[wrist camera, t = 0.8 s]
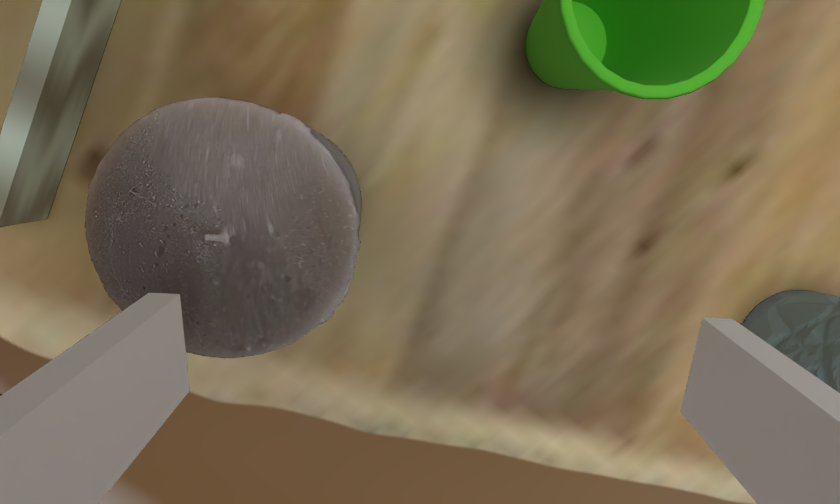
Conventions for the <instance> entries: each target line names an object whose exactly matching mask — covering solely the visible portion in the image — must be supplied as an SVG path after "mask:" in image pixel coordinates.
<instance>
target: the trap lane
mask: <svg viewBox="0 0 840 504" xmlns="http://www.w3.org/2000/svg"><path fill="white" fill-rule="evenodd" d="M120 2H121V0H43V1H42V5H41V8H40V11H39V14H38V17H37V20H36V23H35V27H34V30H33V33H32V36H31V39H30V42H29V45H28V49H27V52H26V55H25V58H24V61H23V64H22V67H21V71H20V74H19V77H18V80H17V83H16V86H15V89H14V93H13V96H12V99H11V102H10V105H9V108H8V112H7V115H6V118H5V121H4V124H3V127H2V130H1V134H0V227H4V226H10V225H15V224H21V223H27V222H33V221H38V220H44V219H47V218H48V215H49V212H50V209H51V206H52V203H53V200H54V197H55V194H56V191H57V188H58V185H59V182H60V179H61V176H62V173H63V170H64V167H65V164H66V161H67V159H68V156H69V153H70V150H71V147H72V144H73V141H74V138H75V135H76V132H77V129H78V126H79V123H80V120H81V117H82V114H83V111H84V108H85V105H86V102H87V99H88V97H89V94H90V91H91V88H92V85H93V82H94V79H95V76H96V73H97V70H98V67H99V64H100V61H101V58H102V55H103V52H104V49H105V46H106V43H107V40H108V38H109V35H110V32H111V29H112V26H113V23H114V20H115V17H116V14H117V11H118V8H119V5H120Z"/></svg>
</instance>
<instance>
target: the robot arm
mask: <svg viewBox="0 0 840 504" xmlns="http://www.w3.org/2000/svg"><path fill="white" fill-rule="evenodd" d="M189 391H190V388H189V378H188V368H187V359H186V349H185V339H184V330H183V320H182V310H181V301H180V294H167V293H148V294H146V295H145V296H143V297H142V298H141V299H139V300H138V301H136V302H135V303H133V304H132V305H131V306H129V307H128V308H126V309H125V310H123V311H122V312H120V313H119V314H118V315H116V316H115V317H113V318H112V319H110V320H109V321H108V322H106V323H105V324H103V325H102V326H100V327H99V328H97V329H96V330H95V331H93V332H92V333H90V334H89V335H87V336H86V337H84V338H83V339H82V340H80V341H79V342H77V343H76V344H74V345H73V346H72V347H70V348H69V349H67V350H66V351H64V352H63V353H61V354H60V355H59V356H57V357H56V358H54V359H53V360H51V361H50V362H49V363H47V364H46V365H44V366H43V367H41V368H40V369H39V370H37V371H36V372H34V373H33V374H31V375H30V376H28V377H27V378H26V379H24V380H23V381H21V382H20V383H19V384H17V385H15V386H14V387H13V388H11V389H10V390H8V391H7V392H5V393H4V394H0V504H99V503H100V501H101V500H102V499H103V498H104V496H105V495H106V494H107V493H108V491H109V490H110V489H111V488H112V486H113V485H114V484H115V483H116V482H117V480H118V479H119V478H120V477H121V475H122V474H123V473H124V472H125V470H126V469H127V468H128V467H129V465H130V464H131V463H132V462H133V460H134V459H135V458H136V457H137V455H138V454H139V453H140V452H141V451H142V449H143V448H144V447H145V446H146V444H147V443H148V442H149V440H150V439H151V438H152V437H153V436H154V434H155V433H156V432H157V430H158V429H159V428H160V427H161V426H162V424H163V423H164V422H165V421H166V420H167V418H168V417H169V416H170V415H171V413H172V412H173V411H174V410H175V408H176V407H177V406H178V405H179V403H180V402H181V401H182V399H183V398H184V397H185V396H186V395H187V393H188V392H189ZM680 412H681V413H682V414H683V415H684V417H685V418H686V419H687V420H688V421H689V423H690V424H691V425H692V426H693V427H694V429H695V430H696V431H697V432H698V433H699V435H700V436H701V437H702V438H703V439H704V440H705V442H706V443H707V444H708V445H709V446H710V448H711V449H712V450H713V451H714V452H715V454H716V455H717V456H718V457H719V458H720V460H721V461H722V462H723V463H724V464H725V466H726V467H727V468H728V469H729V470H730V471H731V473H732V474H733V475H734V476H735V477H736V479H737V480H738V481H739V482H740V483H741V485H742V486H743V487H744V488H745V489H746V491H747V492H748V493H749V494H750V495H751V496H752V498H753V499H754V500H755V501H756V502H757V504H840V393H839V392H837V391H836V390H834V389H833V388H831V387H830V386H829V385H827V384H826V383H824V382H823V381H821V380H820V379H818V378H817V377H816V376H814V375H813V374H811V373H810V372H808V371H807V370H805V369H804V368H803V367H801V366H800V365H798V364H797V363H795V362H794V361H792V360H791V359H790V358H788V357H787V356H785V355H784V354H782V353H781V352H779V351H778V350H777V349H775V348H774V347H772V346H771V345H769V344H768V343H767V342H765V341H764V340H762V339H761V338H759V337H758V336H756V335H755V334H754V333H752V332H751V331H749V330H748V329H746V328H745V327H743V326H742V325H741V324H739V323H738V322H736V321H735V320H733V319H722V318H702V322H701V326H700V330H699V334H698V339H697V343H696V347H695V351H694V356H693V360H692V364H691V368H690V373H689V377H688V381H687V385H686V390H685V394H684V398H683V402H682V406H681V411H680Z"/></svg>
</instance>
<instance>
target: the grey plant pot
mask: <svg viewBox="0 0 840 504" xmlns="http://www.w3.org/2000/svg"><path fill="white" fill-rule="evenodd" d="M741 325H742V326H743V327H745V328H746V329H748V330H749V331H751V332H752V333H754V334H755V335H756V336H758V337H759V338H761V339H762V340H764V341H765V342H767V343H768V344H769V345H771V346H772V347H774V348H775V349H777V350H778V351H779V352H781V353H782V354H784V355H785V356H787V357H788V358H790V359H791V360H792V361H794V362H795V363H797V364H798V365H800V366H801V367H803V368H804V369H805V370H807V371H808V372H810V373H811V374H813V375H814V376H816V377H817V378H818V379H820V380H821V381H823V382H824V383H826V384H827V385H829V386H830V387H831V388H833V389H834V390H836V391H837V392H839V393H840V298H839V297H837V296H833V295H828V294H823V293H817V292H812V291H805V290H791V291H785V292H781V293H778V294H775V295H773V296H771V297H769V298H767V299H766V300H764V301H763V302H761V303H760V304H758V305H757V306H756V307H755V308H754V309H753V310H752V311H751V313H750V314H749V315H748V316H747V317H746V319H745V321H744V323H742V324H741Z"/></svg>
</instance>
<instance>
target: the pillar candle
mask: <svg viewBox="0 0 840 504" xmlns="http://www.w3.org/2000/svg"><path fill="white" fill-rule="evenodd" d="M361 205H362V201H361V192H360V188H359V184H358V180H357V177H356V174H355V172H354V170H353V168H352V166H351V164H350V162H349V160H348V159H347V158H346V156H345V155H344V154H343V153H342V151H341V150H340V149H339V148H338V147H337V146H336V145H335V144H334V143H333V142H331V141H330V140H329V139H327V138H325V137H324V136H323V135H321V134H319V133H318V132H316V131H315V130H313V129H311V128H310V127H308V126H306V125H304V124H303V123H302V121H301V120H299V119H297V118H295V117H293V116H291V115H289V114H285V113H281V114H280V113H278V112H277V111H275V110H273V109H268V108H266V107H263V106H260V105H258V104H254V103H251V102H246V101H240V100H234V99H226V98H221V97H207V98H198V99H190V100H185V101H181V102H175V103H172V104H169V105H165V106H162V107H160V108H157V109H155V110H153V111H152V112H150V113H148V114H147V115H145V116H143V117H142V118H140V119H139V120H137V121H136V122H135V123H133V124H132V125H130V126H129V127H128V128H127V129H126V130H125V131H124V132H123V133H122V134H121V135H120V136H119V137H118V139H117V140H116V141H115V142H114V143H113V144H112V146H111V147H110V149H109V150H108V151H107V153H106V154H105V156H104V157H103V159H102V160H101V161H100V163H99V165H98V167H97V170H96V172H95V175H94V176H93V178H92V180H91V182H90V184H89V194H88V198H87V209H86V221H85V228H86V238H87V243H88V247H89V253H90V255H91V260H92V262H93V264H94V267H95V269H96V271H97V273H98V275H99V276H100V279H101V281H102V283H103V285H104V289H105V290H106V291H107V293H108V295H109V296H110V297H111V298H112V299H113V301H114V302H115V303H116V304H117V305H118V306H119V307H120V308H121V310H122V311H123V310H125V309H126V308H128V307H129V306H131V305H132V304H133V303H135V302H136V301H138V300H139V299H141V298H142V297H143V296H145V295H146V294H148V293H167V294H180V301H181V310H182V320H183V330H184V339H185V349H186V352H188V353H193V354H197V355H202V356H209V357H219V358H238V357H245V356H253V355H258V354H264V353H266V352H270V351H273V350H276V349H279V348H281V347H285V346H286V345H288V344H290V343H292V342H295V341H296V340H298V339H299V338H301V337H303V336H304V335H306V334H307V333H308V332H310V331H311V330H312V329H314V328H315V327H316V326H318V325H319V324H322V323H323V322H326V321H327V320H329V319H330V318H331V317H332V315H333V314H334V309H335V307H337V306H338V305H339V304H340V303H341V302H343V299H344V298H345V296H346V295H347V293H348V290H349V282H350V281H351V280H352V279H353V270H354V267H355V261H356V258H357V252H358V250H359V246H360V243H361V241H359V239H358V237H359V228H360V221H361Z"/></svg>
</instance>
